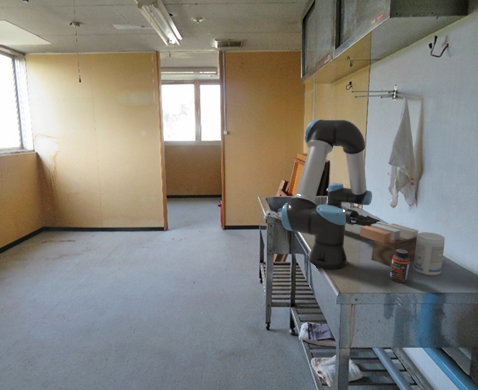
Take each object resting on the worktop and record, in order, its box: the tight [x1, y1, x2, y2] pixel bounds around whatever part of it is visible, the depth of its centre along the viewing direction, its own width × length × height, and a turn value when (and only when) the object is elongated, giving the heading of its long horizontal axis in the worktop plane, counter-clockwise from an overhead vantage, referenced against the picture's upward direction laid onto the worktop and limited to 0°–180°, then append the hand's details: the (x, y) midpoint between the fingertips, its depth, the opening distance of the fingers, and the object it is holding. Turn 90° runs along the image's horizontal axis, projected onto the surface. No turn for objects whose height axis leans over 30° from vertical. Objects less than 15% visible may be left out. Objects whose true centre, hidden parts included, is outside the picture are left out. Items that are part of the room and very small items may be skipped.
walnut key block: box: [371, 237, 417, 268], centre depth 148 cm, size 10×21×10 cm, turn 123°
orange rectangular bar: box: [359, 226, 391, 243], centre depth 149 cm, size 12×4×4 cm, turn 33°
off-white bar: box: [388, 223, 419, 239], centre depth 153 cm, size 12×4×4 cm, turn 33°
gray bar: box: [371, 224, 401, 241], centre depth 152 cm, size 12×4×4 cm, turn 33°
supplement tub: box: [413, 231, 446, 276], centre depth 135 cm, size 10×10×15 cm
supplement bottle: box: [389, 249, 410, 283], centre depth 127 cm, size 6×6×11 cm
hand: (389, 228), depth 158 cm, fingers closed
